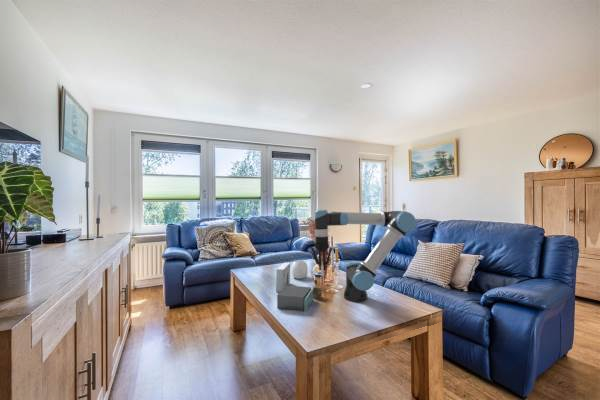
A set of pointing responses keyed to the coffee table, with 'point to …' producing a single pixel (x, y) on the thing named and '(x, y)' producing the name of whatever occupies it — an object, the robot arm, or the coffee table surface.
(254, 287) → the coffee table surface
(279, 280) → the skincare box
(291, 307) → the player housing
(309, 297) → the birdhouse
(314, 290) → the walnut block
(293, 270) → the cup
